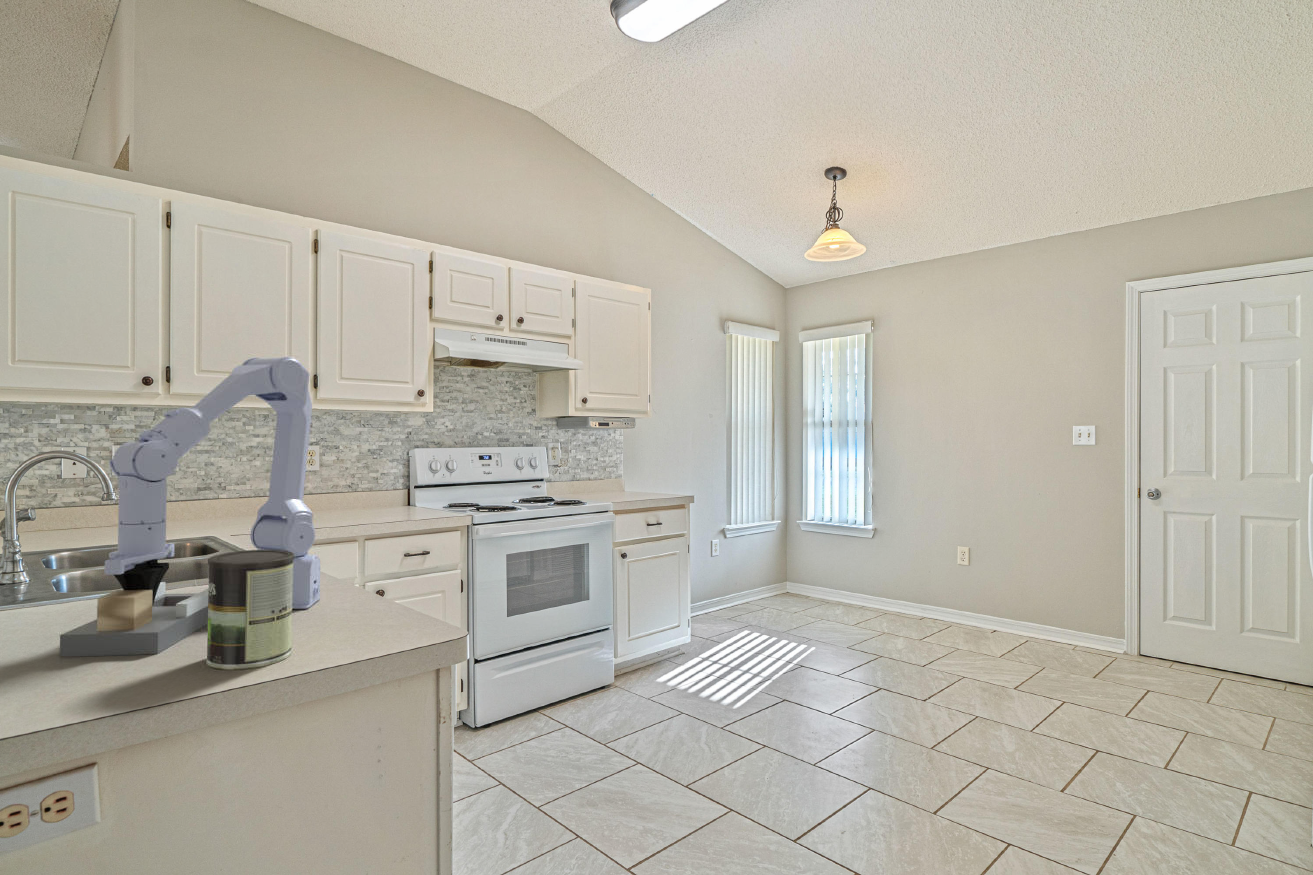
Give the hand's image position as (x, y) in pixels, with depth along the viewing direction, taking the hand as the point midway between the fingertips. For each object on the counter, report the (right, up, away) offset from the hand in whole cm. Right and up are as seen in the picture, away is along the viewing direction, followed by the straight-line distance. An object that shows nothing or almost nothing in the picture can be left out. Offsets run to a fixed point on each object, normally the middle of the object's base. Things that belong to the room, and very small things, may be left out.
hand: (141, 613), depth 103 cm
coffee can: (+21, -4, -7) cm, 22 cm away
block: (+1, -1, -4) cm, 4 cm away
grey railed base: (-1, -4, +4) cm, 6 cm away
